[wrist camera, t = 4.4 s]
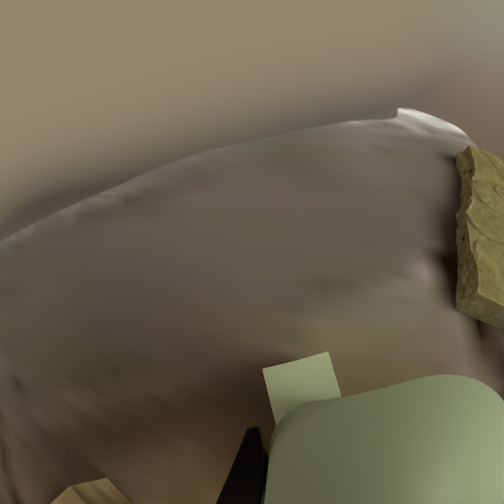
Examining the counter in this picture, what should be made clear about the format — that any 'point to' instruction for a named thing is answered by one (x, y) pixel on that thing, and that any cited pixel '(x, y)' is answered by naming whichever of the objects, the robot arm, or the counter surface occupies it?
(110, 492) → the birch slotted plate
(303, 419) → the green joystick knob
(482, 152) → the decorative tile
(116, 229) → the counter surface
